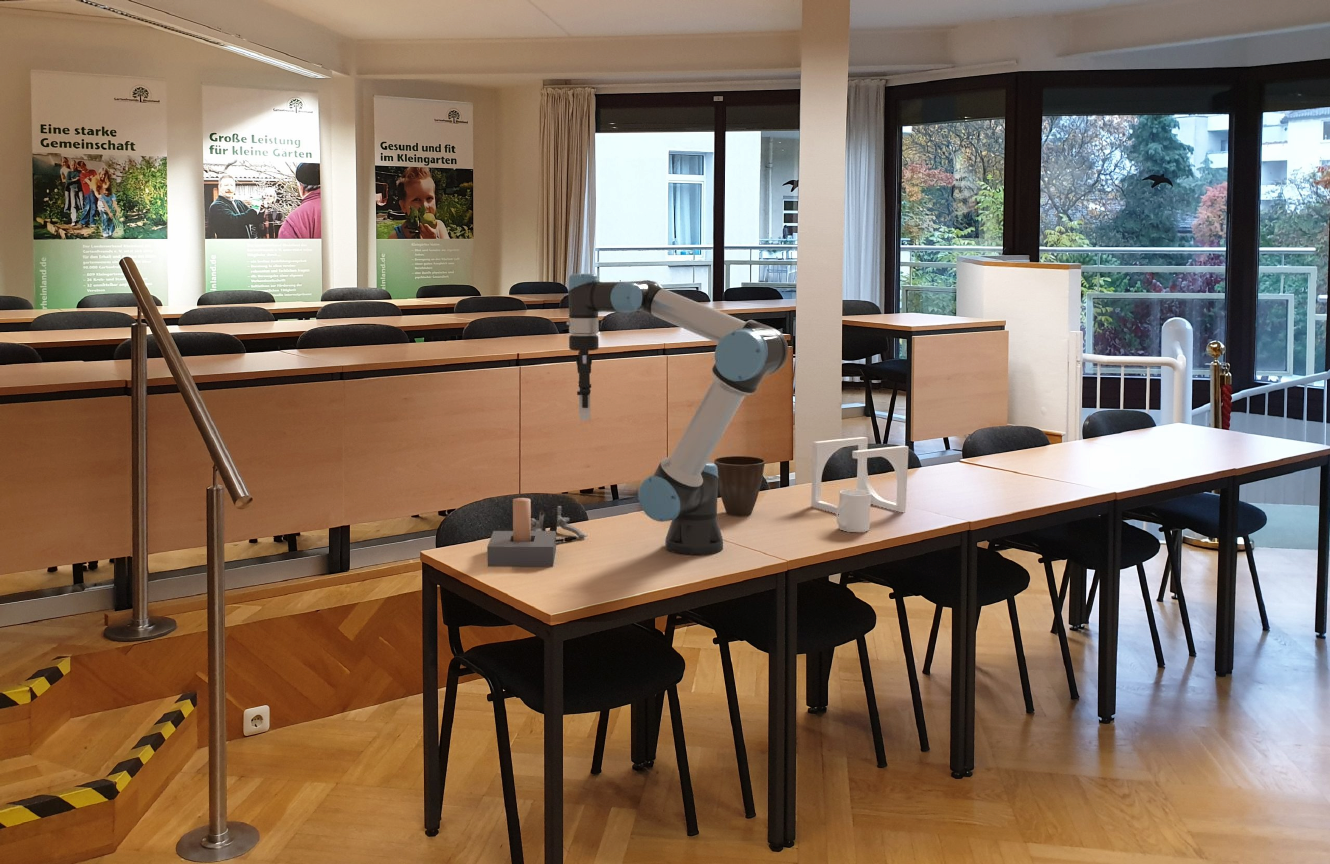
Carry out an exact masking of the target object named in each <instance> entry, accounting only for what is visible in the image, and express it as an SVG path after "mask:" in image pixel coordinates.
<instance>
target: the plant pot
mask: <svg viewBox="0 0 1330 864" xmlns="http://www.w3.org/2000/svg"><path fill="white" fill-rule="evenodd" d="M713 462H714V464H715V465H716V466H717V469H718V492H719V494H720V497H721V501H722V504H723V507H724V510H725V512H726V514H727V516H728V515H729V516H733V517H745V516H746V517H747V516H750V515H751V514H752V513H753V511H754V508H755V506H756V503H757V500H758V496H759V493H760V490H761V485H762V480H763V477H764V472H765V471H764V470H765V464H766V460H765V459H764V458H759V457H753V456H744V455H735V456H734V455H732V456H721V457H717V458H715V459H714V460H713Z"/></svg>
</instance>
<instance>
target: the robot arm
mask: <svg viewBox="0 0 1330 864" xmlns="http://www.w3.org/2000/svg"><path fill="white" fill-rule="evenodd" d="M567 295H568V321H566V325H567V326H569V327H568V333H570V334H571V335H569V336H568V346H569V347H568V348H569V350H570V351H575V352H576V351H577V353H578V354H577V355H578V356H576V357H575V359H576V367H577V368H576V369H577V374H578V381H577V382H578V390H577V391H576V395H577V396H578V414H579V421H580V422H582V421H583V422H585V421H587V422H589V421H591V416H592V415H591V388H592V383H591V380H590V379H591V377H590V374H591V373H592V364H593V358H592V356H590V355H589V354H590V353H589V352H590V351H597V350H599V336H598V335H597V334H598V333H599V312H605V313H607V312H608V313H620V314H628V313H635V312H637V311H640V312H644V313H645V314H648V315H651V316H654V317H656V318H658V319H661V320H662V321H665V322H667V323H669V324H672V325H675V326H677V327H679V328H681V329H684V330H686V331H689V332H691V333H693V334H695V335H698V336H700V337H702V338H705V339H707V340H710V341H712V342H715V343H716V344H717V345H716V347H715V351H714V359H715V363H714V364H713V366H712V368H711V373H712V376H713V379H712V382H711V383H710V385H709V387H708V388H707V391H706V392H705V394H704V396H703V397H702V399H701V401H700V403H699V405H698V406H697V409H696V410H695V412H694V413H693V416H692V418H691V419H690V420H689V422H688V424H687V427H685V429H684V432H683V433H682V435H681V437H680V439H679V441H678V442H677V445H676V446H675V448H674V450H673V452H672V453H671V455H670V456H667V457H666V456H665V457H663V458H662V460H661V461H660V463H659V464H658V466H657V468H656V470H655V472H654V473H653V474H652V475H650V476H648V477H646V478H645V479H644V480H643V481H642V482H641V484H640V485H639V487H638V495H637V497H638V501H639V505H640V507H641V509H642V510H643V513H644V514H645V515H646V516H647V517H648V518H650V519H652V520H653V521H656V522H661V523H663V522H664V523H665V522H670V524H669V528H668V530H667V533H666V537H665V543H664V544H665V549H666V550H668V551H670V552H672V553H677V554H683V555H694V556H697V555H710V554H716V553H718V552H721V551H723V549H724V539H723V535H722V532H721V529H720V525H719V522H718V495H719V494H718V492H719V487H718V469H717V466H716V465H715V464H714V463H713V462H709V461H710V458H711V457H712V455H713V453H714V452H715V450H716V448H717V447H718V445H719V443H720V442H721V439H722V437H723V435H725V434H724V433H725V432H726V430H727V428H729V425H730V423H731V422H732V420H733V417H734V416H735V415H736V412H737V411H738V409H739V407H740V406H741V404H742V402H743V400H744V399H745V397H747V396H749V395H753V394H754V393H755V392H756V390H757V389H758V387H759V386H760V384H761V383H762V380H763V379H764V377H765V376H768V375H772V374H775V373H776V372H778V371H779V370H780V369H782V368H783V367H784V365H785V364H786V362H787V360H788V357H789V346H788V345H789V344H788V342H787V339H786V337H785V335H784V334H783V333H782V332H781V331H780V330H778V329H776V328H774V327H772V326H769V325H767V324H763V323H761V322H758V321H756V320H753V319H749V320H747V321H744V320H741V319H739V318H737V317H734V316H732V315H730V314H727V313H725V312H722V311H719V310H717V309H715V308H712V307H710V306H707V305H706V304H704V303H700V302H698V301H695V300H693V299H690V298H689V297H686V296H683V295H681V294H678V293H676V292H673V291H671V290H668V289H665V288H663V286H662V285H661V284H660V283H659V282H657V281H654V280H648V279H647V280H645V279H643V280H635V281H633V280H632V281H599V278H598V275H597V274H596V273H572V274H571V275H570V276H568V289H567Z"/></svg>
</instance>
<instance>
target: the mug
mask: <svg viewBox="0 0 1330 864" xmlns="http://www.w3.org/2000/svg"><path fill="white" fill-rule="evenodd" d="M838 496H839V500H838V502H839V503H838V505H837V506H838V507H837V513H836V514H835V515H836V516H835V517H836V523H837V525H838V529H839V530H840V531H841V530H843V531H842V532H844V531H847V532H846V533H849V532H863V533H866V531H867V532H868V531H870V530H869V529H870V525H871V524H870V521H871V504H870V502H871V493H870V492H869V491H865V490H858V489H857V488H855V489H853V488H850V489H842V490H840V491H839V495H838ZM838 513H839V515H838Z"/></svg>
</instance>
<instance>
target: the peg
mask: <svg viewBox="0 0 1330 864" xmlns="http://www.w3.org/2000/svg"><path fill="white" fill-rule="evenodd" d="M531 502H532V501H531V499H530V498H528V497H516V498H513V499H512V531H513V542H531V531H532V530H531V516H532V509H531V506H532V505H531Z"/></svg>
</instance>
